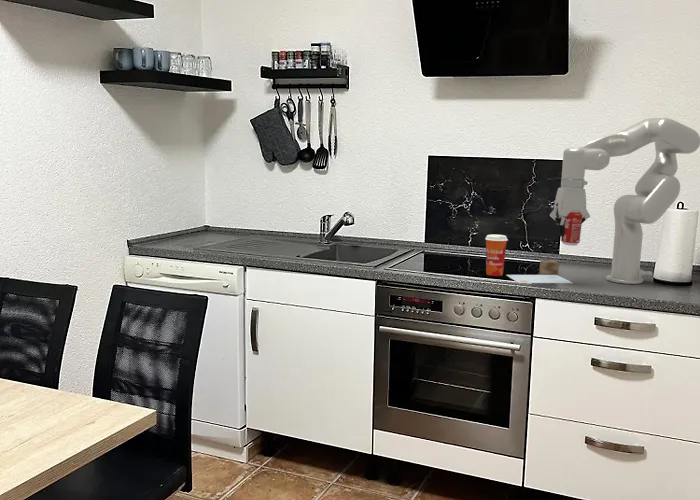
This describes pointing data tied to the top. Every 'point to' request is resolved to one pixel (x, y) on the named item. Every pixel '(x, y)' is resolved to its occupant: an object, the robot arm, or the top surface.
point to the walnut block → (548, 267)
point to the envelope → (538, 279)
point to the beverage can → (572, 228)
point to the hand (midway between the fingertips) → (568, 235)
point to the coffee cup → (495, 254)
